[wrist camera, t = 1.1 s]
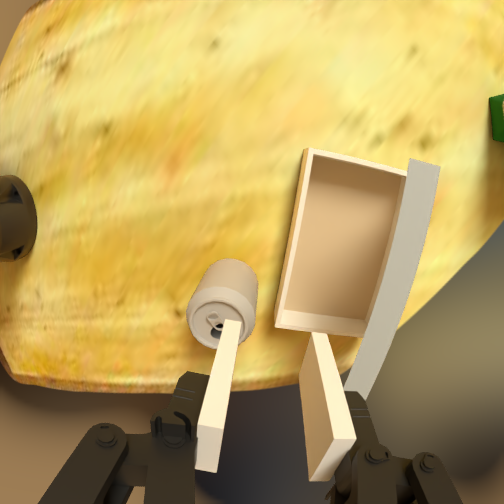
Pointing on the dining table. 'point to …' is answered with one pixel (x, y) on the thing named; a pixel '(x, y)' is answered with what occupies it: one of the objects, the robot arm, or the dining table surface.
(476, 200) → the dining table surface
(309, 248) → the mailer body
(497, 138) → the milk carton
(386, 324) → the lid
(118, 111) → the dining table surface
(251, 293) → the can
